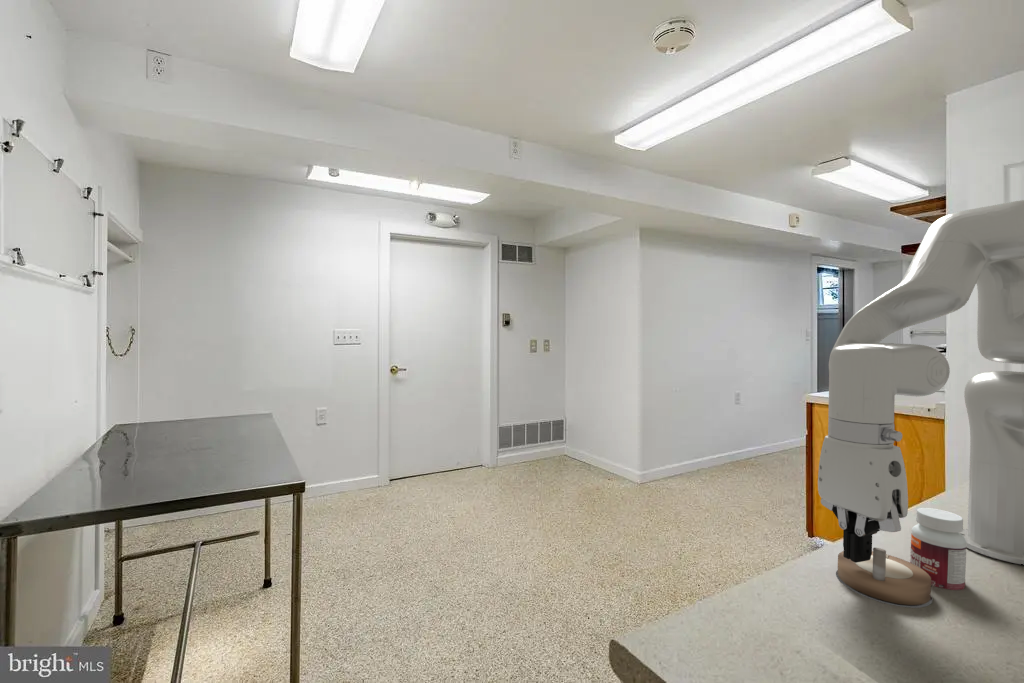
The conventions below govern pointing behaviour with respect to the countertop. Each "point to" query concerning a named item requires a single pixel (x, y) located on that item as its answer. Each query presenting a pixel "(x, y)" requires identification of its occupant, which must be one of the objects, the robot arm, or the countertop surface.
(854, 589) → the base
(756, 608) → the countertop surface
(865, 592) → the turntable
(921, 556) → the pill bottle
